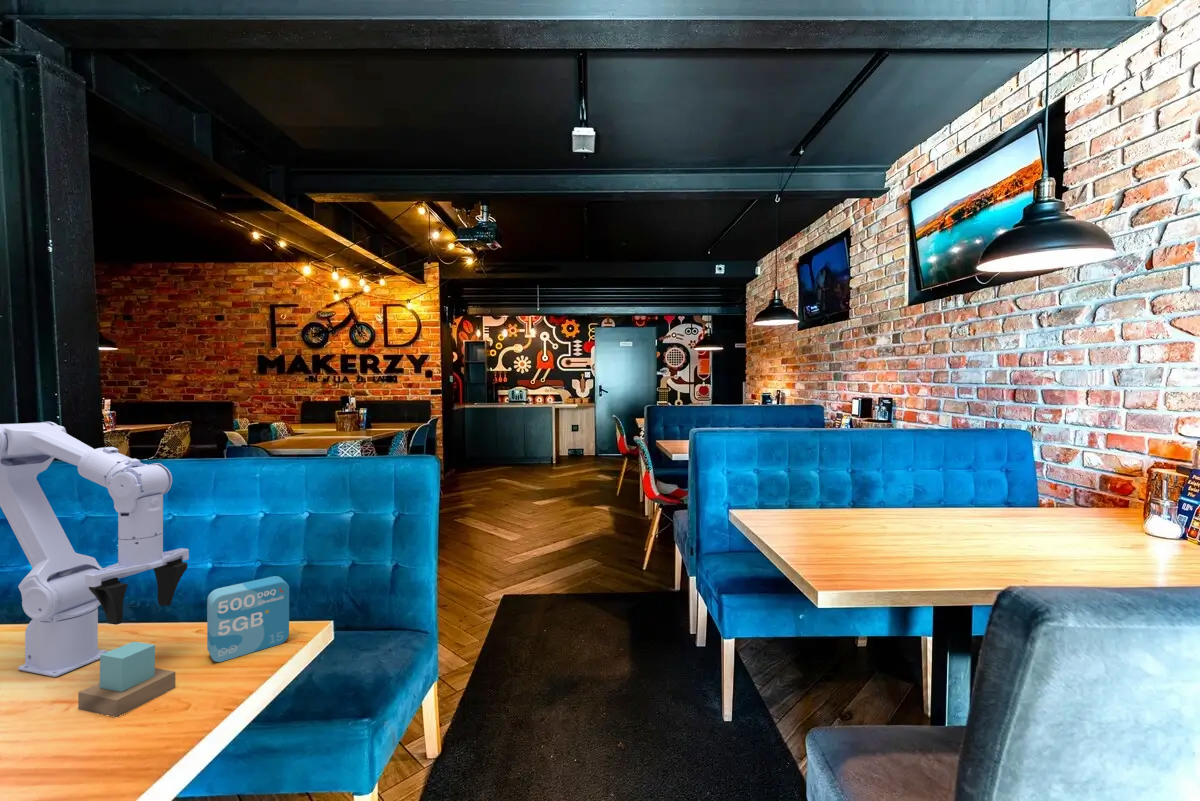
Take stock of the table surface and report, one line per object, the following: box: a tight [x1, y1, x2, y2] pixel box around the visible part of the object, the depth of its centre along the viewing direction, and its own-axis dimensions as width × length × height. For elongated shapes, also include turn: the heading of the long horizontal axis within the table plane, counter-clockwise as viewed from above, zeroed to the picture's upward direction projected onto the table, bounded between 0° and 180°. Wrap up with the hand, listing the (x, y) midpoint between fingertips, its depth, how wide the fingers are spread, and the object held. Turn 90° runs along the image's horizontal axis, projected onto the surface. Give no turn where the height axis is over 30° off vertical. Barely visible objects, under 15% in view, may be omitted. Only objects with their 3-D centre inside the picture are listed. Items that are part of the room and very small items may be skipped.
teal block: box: [99, 641, 156, 692], centre depth 78 cm, size 4×4×5 cm
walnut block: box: [77, 667, 176, 718], centre depth 78 cm, size 8×8×3 cm
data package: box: [206, 575, 290, 663], centre depth 94 cm, size 12×4×12 cm, turn 136°
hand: (140, 613), depth 87 cm, fingers open, 7 cm apart
